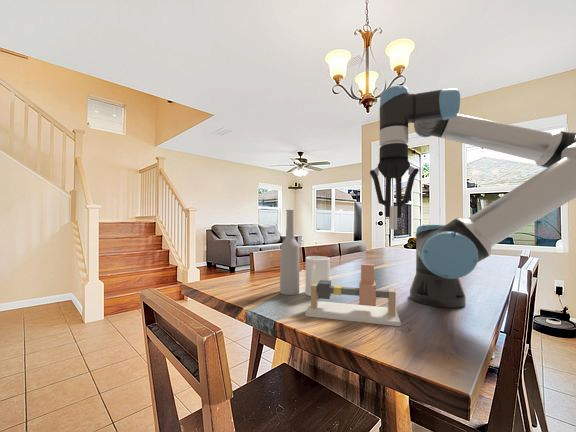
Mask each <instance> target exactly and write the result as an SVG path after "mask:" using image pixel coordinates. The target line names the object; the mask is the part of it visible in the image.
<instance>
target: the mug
mask: <svg viewBox="0 0 576 432" xmlns="http://www.w3.org/2000/svg"><path fill="white" fill-rule="evenodd" d="M330 259H331V258H330V257H328V256H323V255H322V256H321V255H310V256H306V257H305V289H304V294H305V295H306V296H309V297H311V285H312V284H318V283H319V281H320V280H329V281H331V271H330V270H331V265H330V263H331V260H330Z"/></svg>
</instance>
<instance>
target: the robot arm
mask: <svg viewBox="0 0 576 432" xmlns="http://www.w3.org/2000/svg"><path fill="white" fill-rule="evenodd" d="M379 99H380V100H379V145H380V147H379V156H378V157H379V158H378V159H379V162H378V164H377V167H376V168H374V169H370V170H369V175H370V177H371V178H372V180H373V183H374V188H375V192H376V198H377V200H378V204H380V205H383V206H384V216H385V218H388V230H395V231H396V230H398V218H401V217H402V207H403V205H407V204H408V203H409V202H410V198H411V194H412V190H413V185H414V181H415V178H416V176H417V174H418V173H419V171H420V169H419V168H417V167H416V168H415V167H413V166H411V163H410V162H409V145H408V143H409V124H413V127H414V129H413V130H414V132H415V133H416V134H417V135H418V136H419V137H421V138H429V137H436V138H439V139H440V138H441V139H445V140H448V141H453V142H456V143H457V142H458V143H461V144H466V145H469V146H473V147H478V148H481V149H485V150H490V151H493V152H497V153H502V154H507V155H510V156H515V157H519V158H523V159H526V160H531V161H535V164H536V165H537V166H538V167H539V166H540V167H543V168H545V169H543V170H541V171H540V172H539V173H537V174H535V175H534V176H533V177H531V178H529V179H527V180H525V181H524V182H522V184H520V185H518V186H516V187H515V188H513V189H512V190H510V191H508V192H507V193H505V194H504V195H502V196H500V197H499V198H498V199H496V200H495V201H492V202H491V203H489V204H487V205H486V206H485V207H483V208H481V209H480V210H479V211H477V212H475V213H473V214H472V215H471V216H469V217H467V218H458V217H456V218H454V219H453V220H452V221H450V222H448V223H446V224H425V225H424V224H422V225H419V226H417V228H416V233H415V238H416V239H415V241H416V246H415V247H416V248H415V250H416V251H415V275H414V278H413V281H412V282H411V283H412V284H411V286H410V289H409V298H410V299H411V300H413V301H414V302H417V303H419V304H422V305H427V306H432V307H438V308H450V309H452V308H454V309H456V308H463V307H464V306H466V302H467V300H466V295H465V291H464V288H463V286H462V282H461V281H460V279H461V278H464V277H466V276H467V275H469V274H470V273H472V272H473V270H475V268H476V267H477V264H478V263H479V262H481V261H483V260H484V259H486V258H488V257H489V256H490V257H491V253H492V247H494V246H495V245H497V244H499V243H500V242H502V241H504V240H505V239H507V238H508V237H511V236H512V235H514V234H516V233H517V232H519V231H520V230H523V229H524V228H526V227H528V226H529V225H531V224H533V223H534V222H536V221H538V220H540V219H541V218H543V217H546V215H549V214H550V213H551V212H553V211H555V210H557V209H559V208H560V207H562V206H564V205H565V204H567V203H569V202H570V201H572V200H574V199H576V132H568V131H563V130H555V131H553V132H547V131H541V130H536V129H532V128H527V127H523V126H519V125H518V126H517V125H513V124H509V123H504V122H499V121H493V120H490V119H489V120H488V119H484V118H480V117H475V116H470V115H464V114H460V113H459V111H460V107H461V94H460V90H459V89H458V88H447V89H446V88H442V89H437V90H431V91H424V92H417V93H410V92H409V88H408V87H407V86H405V85H402V86H401V85H396V86H395V85H393V86H390V87H388V88H386V89H384V90H383V91H382V93H381V94H380V97H379ZM406 172H407V173H408V179H407V183H406V187H405V190H404V195H403V193H402V192H403V191H402V178H403V176H404V175H405V174H406ZM380 173H381V174H382V176H383V177H384V178H385V188H384V190H385V191H384V192H385V193H384V195H385V196H384V197H383V194H382V190H381V184H380V179H379V177H378V176H379V175H380ZM392 179H395V180H394V181H395V205H391V191H392V188H391V187H392ZM402 195H403V197H402ZM402 198H403V199H402Z"/></svg>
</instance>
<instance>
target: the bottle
mask: <svg viewBox="0 0 576 432" xmlns="http://www.w3.org/2000/svg"><path fill="white" fill-rule="evenodd" d="M285 211H286V229H285V238H284V240H283V241H282V242H281V244H280V253H279V254H280V255H279V256H280V257H279V259H280V263H279V266H280V267H279V270H280V271H279V293H280V294H281V295H283V296H296V295H298V294H300V244H299V242H297V240H296V238H295V229H294V228H295V227H294V226H295V225H294V222H295V221H294V215H295V214H294V211H295V210H294V209H286V210H285Z"/></svg>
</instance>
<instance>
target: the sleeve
mask: <svg viewBox="0 0 576 432" xmlns="http://www.w3.org/2000/svg"><path fill="white" fill-rule="evenodd" d="M358 288H359V296H358V301H359V302H358V303H359V304H358V305H365V306H377V304H376V303H377V302H376V301H377V297H376V289H377V284H376V281H375V264H374V263H360V279H359V285H358Z"/></svg>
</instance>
